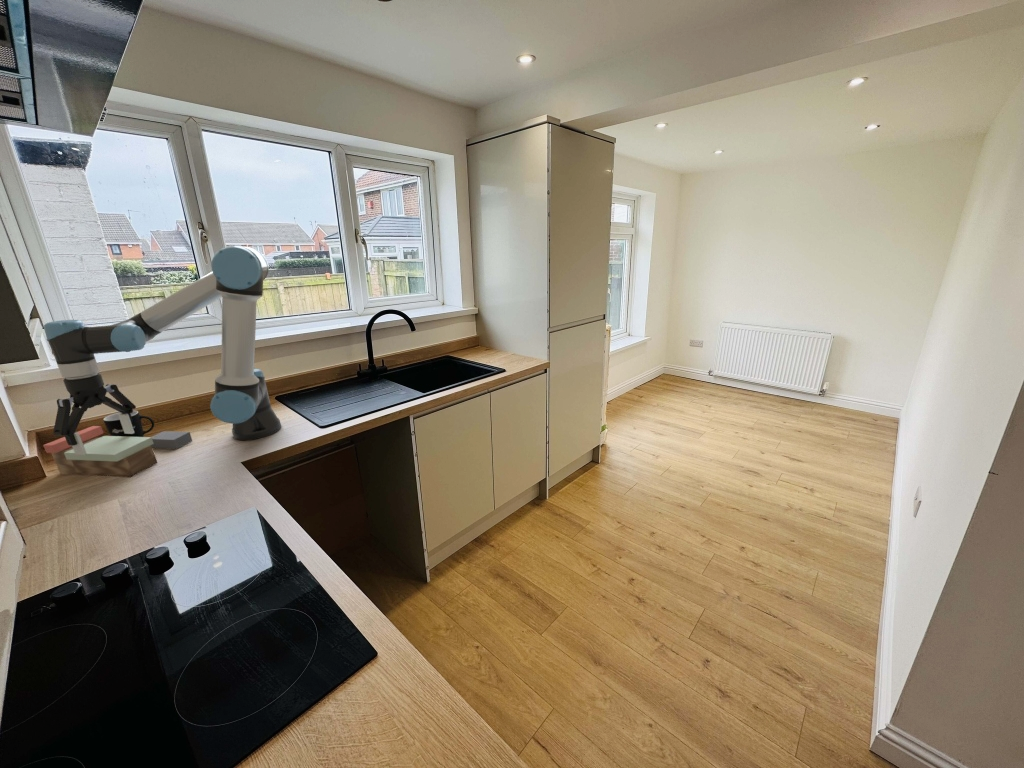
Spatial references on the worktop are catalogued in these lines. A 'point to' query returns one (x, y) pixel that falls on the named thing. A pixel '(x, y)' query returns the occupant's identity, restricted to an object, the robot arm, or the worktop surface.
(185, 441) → the lid rest
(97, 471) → the toolbox
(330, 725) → the worktop surface
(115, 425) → the mug
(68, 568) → the worktop surface
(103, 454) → the lid
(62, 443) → the red rectangular bar
